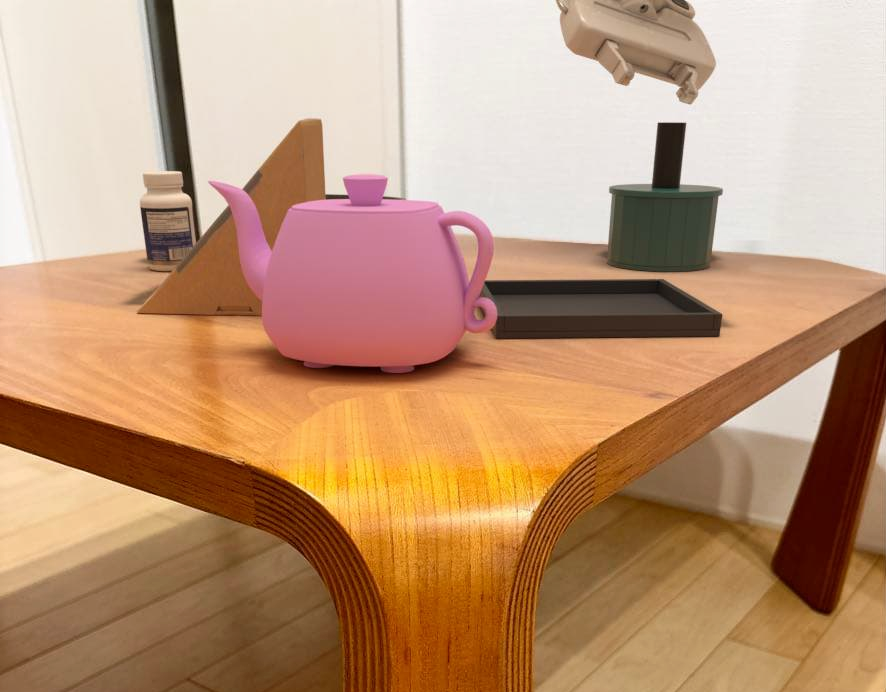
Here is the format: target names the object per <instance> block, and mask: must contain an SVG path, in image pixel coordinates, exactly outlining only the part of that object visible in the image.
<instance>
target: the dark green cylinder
mask: <svg viewBox="0 0 886 692" xmlns="http://www.w3.org/2000/svg"><path fill="white" fill-rule="evenodd" d="M719 197H720V196H716V197H704V198H652V197H633V196H622V195H615V194H611V202H610V215H609V226H608V227H609V229H608V240H607V241H608V242H607V252H606V253H607V255H606V256H607V257H606V260H607V261H606V262H607V264H608V265H610V266H612V267H615V268H619V269H626V270H632V271H643V272H661V273H663V272H664V273H668V272H669V273H672V272H673V273H674V272H675V273H678V272H694V271H702V270H705V269H708V268H711V267H710V266H711V262H712V255H713V247H714V238H715V231H716V230H715V229H716V221H717V214H718V205H719Z"/></svg>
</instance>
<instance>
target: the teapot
mask: <svg viewBox="0 0 886 692" xmlns="http://www.w3.org/2000/svg"><path fill="white" fill-rule="evenodd" d="M342 180H343V186H344V188H345V191H346V193H347V195H348V196H349V199H330V200H317V201H310V202H305V203H300V204H296V205H293V206H292V207H291V208H290V209H289V210H288V212H287V214H286V216H285V218H284V220H283V223H282V225H281V228H280V231H279V233H278V236H277V239H276V241H275V244H274V247H273V250H271V249H270V247H269V245H268V244H267V241H266V239H265V236H264V233H263V229H262V225H261V222H260V218H259V215H258V212H257V209H256V207H255V205H254V203H253V201H252V199H251V198H250V197H249V195H248V194H247V193H246V192H245V191H244V190H242V189H243V188H241V187H238V186H235V185H231V184H228V183H224V182H220V181H215V180H207V182H208V184H209V185H210V186H211V187H212V188H213V189H215V190H216V191H217V192H218V194H220V195H221V196H222V197H223V198H224V200H225V202H226V203H227V206H228V205H229V206H230V208H231V211H232V214H233V216H234V220H235V225H236V230H237V238H238V248H239V257H240V264H241V267H242V271H243V275H244V277H245V279H246V281H247V283H248V285H249V287H250V288H251V290H252V291H253V292H254V294H255V295H256V296H257V297H258V298H259V299H260V300H261V301H262V315H261V319H262V326H263V330H264V333H266V336H268V338H269V340H270V341H271V342H272V344H273V345H274V346H275V348H276V349H277V350H278V352H279V353H280V354H281V355H282V356H284V357H285V358H289V359H293V360H298V361H303V365H304V366H305V367H307V368H313V369H323V368H324V369H325V368H330V367H333V366H345V367H380V371H382V372H384V373H389V374H390V373H391V374H403V373H409V372H412V371H415V366H419V365H425V364H431V363H433V362H434V363H435V362H437V361H439V360H441V359H443V358H445V357H447V356H448V355H449V354H450V353H452V352H453V351H454V350H455V349H456V347H457V346H458V344H459V343H460V341H461V340H462V339H463V337H464V335H465V334H466V332H469V333H471V334H482V333H486V332H488V331H490V330H492V328H493V326H494V325H495V323H496V320H497V308H496V306H495V304H494V303H493V302H492V301H491V300H490V299H488V298H484V297H481V298H478V297H479V295H480V292H481V290H482V287H483V285H484V282H485V280H487V276H488V274H489V271H490V267H491V264H492V262H493V256H494V249H495V247H494V237H493V234H492V232H491V230H490V228H489V227H488V226H487V224H486V223H485V222H484V221H483V220H482V219H481V218H479V217H478V216H476V215H474V214H472V213H469V212H467V211H462V210H453V211H447V212H445V211H444V209H443V207H442V206H441V205H440V204H439V203H438V202H436V201H430V200H429V201H428V200H415V199H414V200H412V199H406V200H390V199H382V198H383V196H385V191H386V188H387V186H388V180H389V179H388V177H387V176H385V175H381V174H373V173H372V174H371V173H361V174H360V173H359V174H350V175H345V176H344V177H342ZM452 226H458V227H459V226H460V227H463V228H465V229H468V230H469V231H471V232H472V233H473V234H474V235H475V237H476V239H477V245H478V247H477V248H478V250H477V257H476V262H475V266H474V270H473V272H472V275H471V278H469V272H468V269H467V266H466V261H465V258H464V255H463V253H462V250H461V248H460V245H459V242H458V239H457V237H456V235H455V233H454V230H453V228H452ZM478 307H479V308H481V307H482V308H483V309H484V310H485V313H486V316H485V315H484V318H483V319H477V318H476V313H475V311H476V308H478Z"/></svg>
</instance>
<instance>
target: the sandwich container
mask: <svg viewBox="0 0 886 692" xmlns="http://www.w3.org/2000/svg"><path fill="white" fill-rule="evenodd" d="M324 152H325V151H324V131H323V121H322V119H321V118H311V117H309V118H307V117H306V118H304V119H299V120H298V121H297V122H296V123H295V124H294V125H293V126H292V128H291V129H290V130H289V132H288V133H287V134H286V135H285V136H284V137H283V139H282V140H281V141H280V143H279V144H278V145H277V146H276V147H275V148H274V150H273V151H272V152H271V154H270V155H269V156H268V157H267V158H266V160H265V161H264V162H263V163H262V164H261V166H259V168H258V169H257V170H256V171H255V173H254V174H253V175H252V177H251V178H250V179H249V181H247V182H246V184H245V185H244V186H243V188H241V189H242V190H244V191H245V192H246V193H247V194H248V195H249V197H250V198H251V199H252V201H253V203H254V205H255V207H256V209H257V212H258V215H259V218H260V222H261V225H262V229H263V233H264V236H265V239H266V241H267V244H268V245H269V247H270V249H271V250H273V247H274V244H275V241H276V239H277V236H278V233H279V231H280V228H281V225H282V223H283V220H284V218H285V216H286V214H287V212H288V210H289V209H290V208H291V207H292V206H293V205H296V204H300V203H305V202H310V201H317V200H326V195H325V194H326V176H325V174H326V173H325V153H324ZM136 313H137V314H161V315H162V314H167V315H168V314H169V315H170V314H171V315H208V316H210V315H212V316H214V315H215V316H217V315H223V316H224V315H226V316H227V315H230V316H262V301H261V300H260V299H259V298H258V297H257V296H256V295H255V294H254V292H253V291H252V290H251V288H250V287H249V285H248V283H247V281H246V279H245V277H244V275H243V271H242V267H241V264H240V257H239V248H238V238H237V230H236V225H235V220H234V216H233V214H232V211H231V208H230V206H229V205H228V204H227V206H226V208H224V209H223V211H222V212H221V213H220V214H219V215H218V216H217V218H216V219H215V220H214V221H213V223H212V224H211V225H210V226H209V228H207V230H206V231H205V232H204V233H203V235H201V237H199V239H198V240H197V243H196V244H195V245H194V246H193V247H192V249H191V250H190V251H189V252H188V253H187V254H186V256H185V257H184V258H183V259H182V260H181V261H180V263H179V264H178V265H177V266H176V267H175V268H174V270H173V271H170V273H169V274H168V275H167V276H166V277H165V278H164V280H163V281H161V283H160V284H159V285H158V287H157V288H155V290H154V291H153V292H152V294H151V295H150V296H149V297H148V298H147V299H146V300H145V302H144V303H143V304H142V305H141V306H140V307H139V308H138V309H137V310H136Z"/></svg>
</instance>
